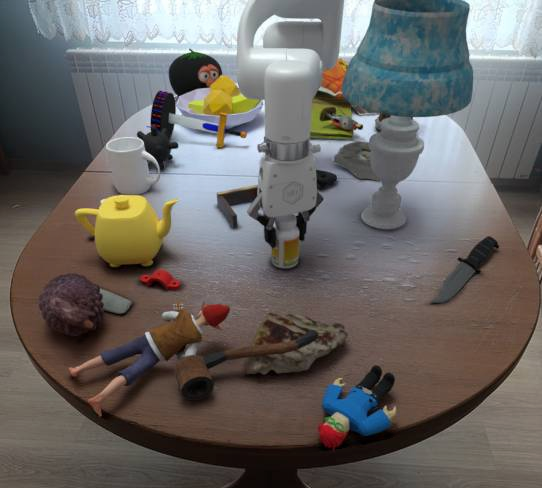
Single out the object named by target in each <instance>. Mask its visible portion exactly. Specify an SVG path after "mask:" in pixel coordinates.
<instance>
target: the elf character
mask: <svg viewBox="0 0 542 488" xmlns="http://www.w3.org/2000/svg"><path fill="white" fill-rule="evenodd" d="M172 306H173V310H169V311H164V312H163V313H162V314H161V319H162V320H163V321H164V322H165V323H162V324H160V325H156V326H152V327H149V328H148V331H146V332H144V334H143V335H141V336H137V337H136V338H134V339H133V340H131V341H130V342H128V343H126V344H123V345H121V346H117V347H115V348H112V349H108V350H105V351H102V352H100V355H98V356H96V357H94V358H92V359H89V360H87V361H86V362H84V363H82V364H80V365H79V366H75V367H71V366H70V367H68V368H67V369H68V371H69V372H70V375H71V376H72V377H73V378H77V377H78V375H80V374H82V373H83V372H85V371H88V370H91V369H95V368H98V367H102V366H104V365H106V366H108V367H109V366H113V365H114V364H117V363H119V362H121V361H124V360H127V359H129V358H132V357H134V356H136V355H137V356H138V355H140V356H139V358H137V360H135V361H134V363H132V364H131V365H130V366H128V367H126V368H125V369H122V370H120V371H118V372H117V375H116V377H115V378H113V379H112V380H111V381H110V382H109V383H108V384H107V386H106V387H105V388H104V389H103V390H102V391H101V392H99V393H98V394H97V395H95V396H93V397H90V398H88V400H87V401H88V402H87V403H88V404H89V405H90V406H91V407H92V409H93V411H94V412H95V413H96V414H97V415H98V417H102V416H103V413H102V403H103V402H104V401H105V400H106V399H107V398H109V397H110V396H111V395H114V394H115V392H117V391H118V390H120V389H121V388H123V387H129V386H131V385H133V383H134V382H136V381H137V380H138V379H140V378H141V377H143V376H144V375H145V374H146V373H147V372H149V371H150V370H152V369H153V368H154V367H155V366H156V365H157V364H158V363H159V362H160V361H161V362H164V361H166V362H168V361H170V359H171V358H172V357H173V356H176V358H177V360H178V361H179V360H181V359H182V358H183V357H186V356H189V355H197V351H198V348H199V346H200V345H201V342H202V341H203V335H204V333H203V332H204V331H203V330H202V327H203V326H210V327H212V328H213V329H215V330H220V331H222V332H223V331H224V330H223V329H222V328H221V326H220V324H221V323H223V322H224V321H226V319H227V317H228V316H229V314H230V311H231V307H230V306H229V305H224V304H221V303H215V304H214V303H211V304H207V305H206V302H205V298H204V297H203V298H202V303H201V305H200V306H201V307H200V308H201V310H200V311H199V312H198V314H197V315H196V318H195V316H194V315H193V314H191V313H190V312H189V311H187V310H186V309H184V307H183V306H184V303H181V302H180V301H176V302H175V303H173V304H172ZM174 310H175V311H174ZM187 346H188V347H187ZM186 348H187V350H186ZM185 350H186V351H185Z"/></svg>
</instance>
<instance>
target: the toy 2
mask: <svg viewBox="0 0 542 488" xmlns="http://www.w3.org/2000/svg"><path fill="white" fill-rule="evenodd" d="M382 375H383V369H382V368H381V367H380V366H379V365H373V366H372V367H371V369H370V370H369V371H368V373H366V374H365V375H364V377H363V378H362V380H361V381H360V382H359V383H357V384H356V385H355V386H353V387H351V388H350V390H349V393H348V395H347V396H346V397H344V398H341V396H342V392H343V388H344V387H345V386H346V385H347V384H346V382H344V383H343V381H344V378H343V377H338V378H336V379H335V380H334V382H333V384H329V385H328V386H327V388H326V390H325V393H324V395H323V399H322V402H321V408H322V410H323V411H324V412H325V413H327V414H329V415H330V416H327V417H324V418H323V419H324V420H323V422H322V423H321V424H318V427H317V428H318V431H317V432H318V436H319V441H321V443H322V444H323V445H324V447H326V448H329V449H331V448H332V451H333V452H334V451H335V448H338V447H339V446H340V445H342V443H343V441H344V440H345V438H346V437H347V436H348V434H349V431H351V432H356V433H359V434H360V435H361V436H365V437H368V436H372V435H375V434H378V433H381V432H383V431H385V430H387V429H389V428H390V427H391V421H392V420H393V419H394V418H395V417H396V415H397V407H396V406H393V407H392V410H388V409H387V408H388V406H387V405H384V406H383V407H382V408H383V409H382V408H381V409H379V410H377V411H375V412H374V413H372V414H371V415H369V416H368V413H369V412H372V411H374V410H375V409H377V408H379V405H380V402H381V401H382V399H383V398H384V397H385V396H386V395H387V394H388V393H390V392H391V391H392V389H393V387H394V385H395V382H396V378H395V375H394V374H393V373H391V372H390V371H388V372H385V373H384V375H383V377H382ZM381 377H382V379H381Z"/></svg>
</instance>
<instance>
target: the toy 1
mask: <svg viewBox="0 0 542 488" xmlns="http://www.w3.org/2000/svg"><path fill="white" fill-rule="evenodd" d="M188 50H189V51H190V52H186V53H184V54H182V55H180V56H178V57H177V58H175V59H174V60H173V61H172V62H171V64H170V66H169V67H168V79H169V84H170V87H171V89H172V91H173V92H174V93H175V95H176V96H177V97H178V98H179V96H181V95H184V94H186V93H188V92H191V91H193V90H196V89H202V88H210V85H211V84H212V83H214V82H215V81H216V80H217V79H218V78H219V77H220V76H221V75H223V70H222V69H223V68H222V67H221V64H220V63H219V62H218V61H217V59H215V58H214V57H213V56H210V55H208V54H205V53H202V52H200V51H199V52H198V51H195V50H192V48H189V49H188Z"/></svg>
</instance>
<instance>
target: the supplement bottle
mask: <svg viewBox="0 0 542 488" xmlns="http://www.w3.org/2000/svg"><path fill="white" fill-rule="evenodd" d="M296 216H297V215H295V214H290V215H285V216H281V217H276V219H275V222H274V225H273V227H274V228H275V230H276V247H275V248H271V263H272V264H273V266H274V267H276V268H279V269H292V268H293V267H294V268H295V266H297V264H298V263H299V258H300V257H299V253H300V240H299V228H298V227H297V226H296Z"/></svg>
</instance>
